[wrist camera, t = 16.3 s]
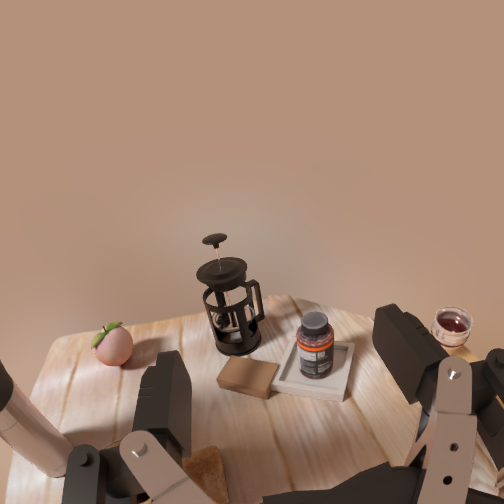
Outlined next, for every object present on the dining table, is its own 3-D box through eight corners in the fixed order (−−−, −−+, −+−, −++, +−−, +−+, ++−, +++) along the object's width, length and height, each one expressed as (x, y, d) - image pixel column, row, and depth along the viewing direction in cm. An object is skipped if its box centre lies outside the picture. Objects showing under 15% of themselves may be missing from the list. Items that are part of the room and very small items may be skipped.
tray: (271, 390, 45) (270, 383, 44) (292, 343, 54) (292, 335, 53) (342, 402, 40) (343, 395, 39) (354, 350, 49) (354, 342, 49)
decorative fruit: (126, 381, 49) (104, 345, 45) (99, 372, 52) (78, 337, 48) (148, 351, 57) (131, 315, 53) (121, 345, 60) (104, 310, 56)
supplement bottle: (314, 351, 50) (313, 302, 45) (340, 365, 46) (343, 316, 41) (291, 369, 47) (286, 321, 42) (316, 386, 43) (316, 338, 38)
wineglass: (458, 368, 38) (479, 316, 33) (440, 392, 35) (462, 340, 30) (431, 352, 44) (446, 300, 39) (411, 373, 41) (426, 321, 36)
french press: (226, 365, 51) (194, 256, 42) (205, 339, 59) (175, 239, 49) (277, 338, 56) (262, 231, 47) (252, 317, 64) (234, 219, 54)
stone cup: (147, 540, 20) (80, 512, 14) (129, 475, 30) (74, 425, 24) (252, 513, 25) (226, 483, 19) (220, 449, 35) (189, 394, 29)
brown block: (219, 387, 47) (216, 378, 46) (234, 364, 52) (231, 355, 50) (267, 399, 43) (265, 390, 42) (279, 373, 48) (278, 364, 47)
